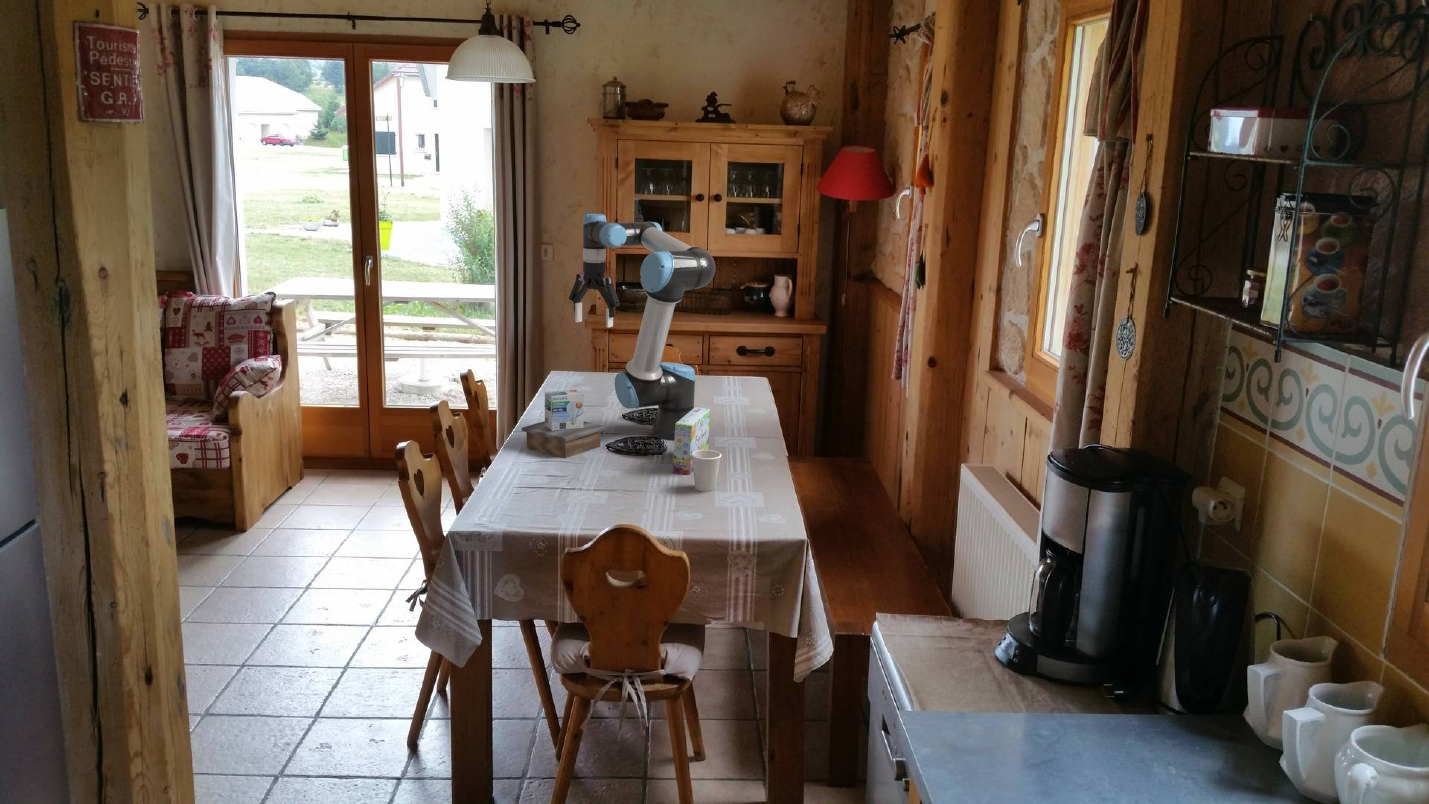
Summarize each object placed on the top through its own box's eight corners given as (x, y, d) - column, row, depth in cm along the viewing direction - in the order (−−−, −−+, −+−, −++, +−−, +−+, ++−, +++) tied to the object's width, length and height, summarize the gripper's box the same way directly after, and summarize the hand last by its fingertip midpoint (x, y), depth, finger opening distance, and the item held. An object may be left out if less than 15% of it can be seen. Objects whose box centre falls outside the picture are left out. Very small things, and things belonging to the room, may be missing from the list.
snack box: (690, 475, 310) (692, 425, 306) (671, 473, 311) (673, 423, 308) (709, 455, 330) (711, 407, 326) (691, 453, 331) (693, 406, 328)
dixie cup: (709, 495, 294) (711, 460, 291) (684, 489, 298) (685, 454, 296) (725, 487, 301) (727, 453, 298) (700, 481, 305) (701, 447, 303)
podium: (605, 446, 335) (605, 426, 334) (565, 459, 321) (565, 438, 319) (561, 435, 345) (561, 416, 343) (521, 448, 330) (521, 427, 329)
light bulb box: (551, 431, 326) (551, 396, 323) (543, 425, 332) (543, 391, 329) (584, 428, 331) (584, 393, 328) (576, 422, 337) (576, 389, 334)
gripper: (630, 263, 354) (629, 327, 359) (573, 256, 368) (573, 318, 373) (616, 265, 348) (615, 330, 353) (558, 258, 362) (558, 321, 367)
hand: (593, 324), depth 363 cm, fingers open, 13 cm apart
